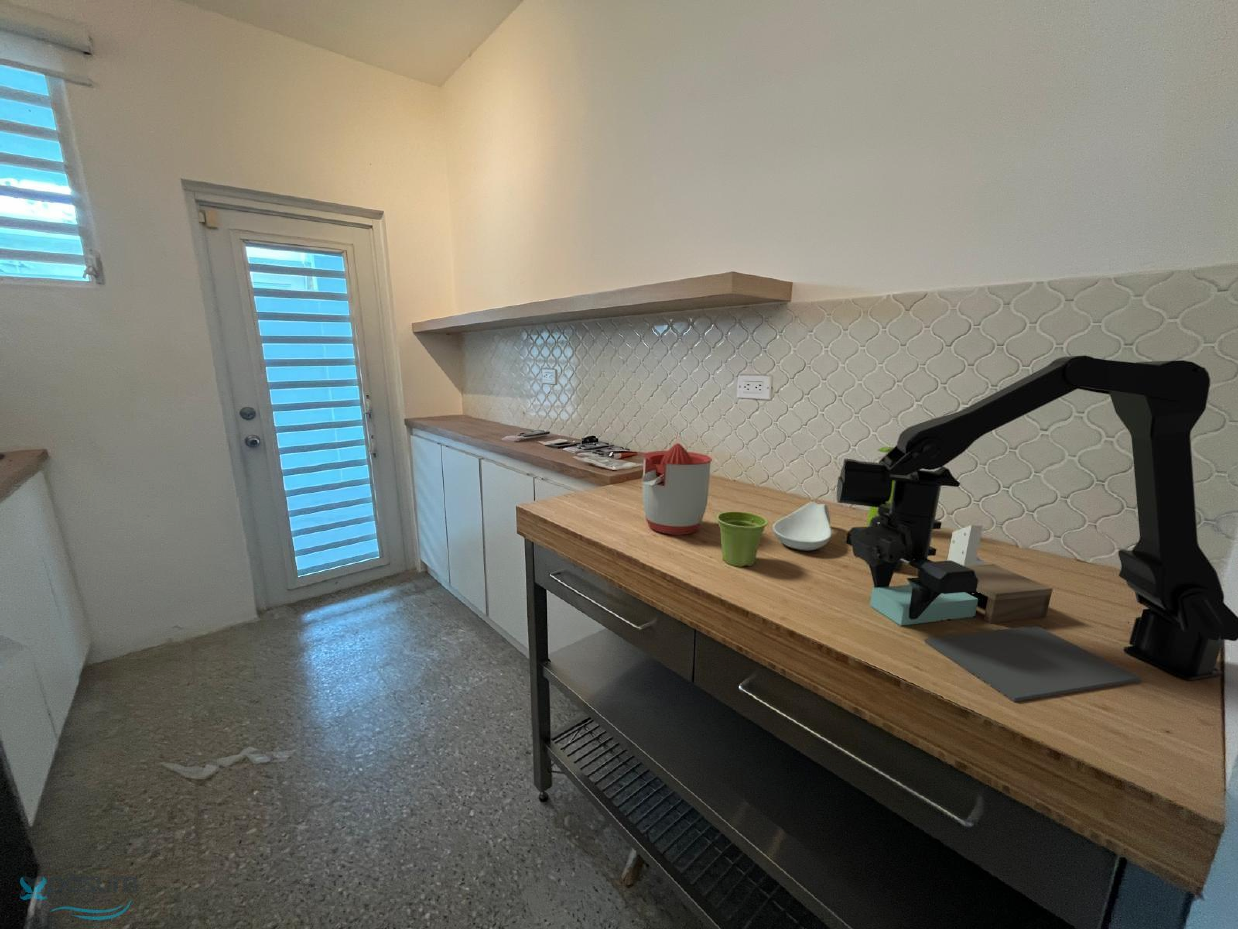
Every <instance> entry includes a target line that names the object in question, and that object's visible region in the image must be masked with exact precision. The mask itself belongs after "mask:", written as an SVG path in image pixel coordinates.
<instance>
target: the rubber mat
mask: <svg viewBox="0 0 1238 929" xmlns="http://www.w3.org/2000/svg"><path fill="white" fill-rule="evenodd" d="M923 641H924V643H925V644H926V645H928V646H930V647H931V648H933V649H935V651H937V650H938V651H937V652H939V653H941V654H942V655H943V656H944V657H946V656H947V657H946V658H948V657H949V658H950V659H949V658H948V659H949V660H950V661H952V662H954V661H955V662H954V663H955V664H956V665H958V664H959V665H958V666H959V667H961V668H963V667H964V668H965V669H964V668H963V669H964V670H965V671H967V672H969V671H970V672H971V674H972V673H973V674H975V675H976V676H977V677H976V676H975V675H974V676H975V677H976V678H978V677H979V678H980V679H982V680H981V681H982V682H983V681H985V682H986V683H987V685H988V684H990V685H991V686H992V687H991V686H990V687H991V688H992V689H994V688H995V689H996V690H995V689H994V690H995V691H997V692H998V691H1000V692H1001V693H1003V694H1004V695H1006V696H1005V697H1006V698H1007V697H1008V699H1009V698H1010V699H1009V700H1010V701H1011V702H1013V703H1017V702H1022V701H1027V699H1029V700H1033V699H1032V698H1035V699H1040V698H1045V697H1044V696H1047V697H1052V696H1051V695H1053V696H1057V695H1058V696H1059V695H1065V694H1069V693H1070V692H1071V693H1077V692H1082V691H1088V690H1096V689H1099V688H1100V689H1101V688H1106V687H1113V686H1118V685H1125V684H1131V683H1137V682H1138V683H1139V682H1141V680H1142V677H1141V676H1139V675H1137V674H1135V673H1133V672H1131V671H1129V670H1127V669H1125V668H1123V667H1121V666H1118V665H1117V664H1115V663H1113V662H1112V661H1109V660H1106V659H1105V658H1102V657H1100V656H1099V655H1096V654H1094V653H1093V652H1091V651H1088V650H1086V649H1084V648H1083V647H1080V646H1078V645H1076V644H1075V643H1072V642H1071V641H1068V640H1066V639H1064V638H1062V637H1061V636H1058V635H1056V634H1054V633H1053V632H1050V631H1048V630H1046V629H1044V628H1042V627H1040V626H1038V625H1029V626H1020V627H1013V628H1005V629H1004V628H1003V629H996V630H995V629H994V630H987V631H979V632H972V633H971V632H970V633H962V634H955V635H953V634H952V635H945V636H937V637H936V636H935V637H928V638H925V639H924V640H923ZM970 672H969V673H970ZM973 674H972V675H973ZM979 678H978V679H979ZM980 679H979V680H980ZM985 682H984V683H985ZM986 683H985V684H986ZM1000 692H999V693H1000ZM1001 693H1000V694H1001ZM1003 694H1002V695H1003ZM1004 695H1003V696H1004ZM1038 697H1040V698H1038ZM1021 700H1022V701H1021Z"/></svg>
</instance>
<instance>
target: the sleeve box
mask: <svg viewBox="0 0 1238 929" xmlns="http://www.w3.org/2000/svg"><path fill="white" fill-rule="evenodd" d="M965 567H967V568H969V569H972V570H974V571H975V573H976V574H977V576H978V585H977V589H976V591H974V592H965V593H967V594H971V595H973V594H972V593H978V592H979V593H981V594H982V595H983V596H985V597H987V602H986V607H985V612H984V616H983V620H984V619H985V620H987V621H988V622H987V621H986V622H987V623H989V622H990V623H989V624H996V623H995V622H997V623H1003V622H1004V623H1006V622H1011V621H1022V619H1023V620H1031V619H1040V618H1046V617H1047V614H1048V609H1049V605H1050V601H1051V597H1052V595H1053V594H1052V593H1053V587H1050V586H1047V585H1045V584H1043V583H1041V582H1037V581H1035V580H1033V579H1031V578H1028V577H1025V576H1024V575H1021V574H1018V573H1017V572H1013V571H1011V570H1008V569H1007V568H1004V567H1001V566H1000V565H996V564H994V563H992V564H991V563H990V564H987V565H976V566H965ZM981 594H980V595H981ZM985 620H984V621H985ZM1005 621H1006V622H1005Z"/></svg>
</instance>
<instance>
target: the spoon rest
mask: <svg viewBox="0 0 1238 929" xmlns="http://www.w3.org/2000/svg"><path fill="white" fill-rule="evenodd" d="M830 517H831V516H830V510H829V508H828V505H827V504H825V503H822V504H819V503H816V502H814V501H809V502H808V503H806V504H804V505H803V506H801V507H800V508H798V509H797V510H795V511H793V512H792V513H789V514H788V515H786V516H784V517H782V518H781V519H778V520H777V521H776V522H775V523H773V525H772V531H773V534H774V536H775V537H776V538H777V540H778V541H779V542H781V543H782V544H783V545H785V546H786V547H789V548H791V549H795V550H799V551H805V552H806V551H807V552H808V551H814V550H818V549H820V548H822V547H824V546H825V545H826V544H827V543H828V542H829V541H830V540H831V538H832V536H833V535H832V534H833V531H832V527H831V518H830Z"/></svg>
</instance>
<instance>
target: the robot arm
mask: <svg viewBox="0 0 1238 929" xmlns="http://www.w3.org/2000/svg"><path fill="white" fill-rule="evenodd" d="M1210 388H1211V377H1210V373H1209V372H1208V370H1207V369H1206V367H1204V366H1201V365H1199V364H1198V363H1195V362H1193V361H1189V360H1183V359H1182V360H1160V361H1159V360H1157V361H1156V360H1155V361H1153V360H1152V361H1137V362H1134V361H1133V362H1131V361H1121V360H1111V359H1105V358H1104V359H1102V358H1097V357H1093V356H1089V355H1072V356H1071V355H1070V356H1069V355H1068V356H1062V357H1058V358H1056V359H1055V360H1053V361H1051V363H1049V364H1048V365H1046V366H1044V367H1043V368H1041V369H1039V370H1037V371H1035V372H1033V373H1031V374H1029V375H1027V376H1025V377H1023V378H1021V379H1019V380H1018V381H1015V382H1014V383H1011V384H1009V385H1008V386H1006V387H1003V388H1002V389H1000V390H998V391H997V392H994V393H992V394H990V395H989V396H986V397H985V398H983V399H981V400H979V401H977V402H975V403H973V404H971V405H968V406H967V407H965V408H963V409H962V410H959V411H956V412H952V413H950V414H946V415H942V416H938V417H935V418H932V419H928V420H926V421H923V422H922V421H921V422H920V423H918V424H917V423H916V424H914V425H911V426H909V427H907V428H905V429H904V430H902V431H901V433H900V434H899V435H898V440H897V442H896V445H895V446H894V448H893V449H892V450H891V451H890V452H889V453H888V452H886V453H887V454H885V455H884V456H883V457H882V458H881V459H879V461H878V462H872V461H871V462H870V461H860V460H856V459H852V458H851V459H850V458H844V460H843V465H842V467H841V470H840V474H839V476H838V477H837V485H836V486H837V487H836V501H837V503H839V504H846V505H853V506H854V505H855V506H862V507H880V505H881V504H885V503H886V502H888V501H889V499H890V496H891V490H892V481H895V483H894V489H893V495H892V501H891V507H890V513H883V515H882V516H881V518H880V522H879V524H878V525H877V526H871V527H867V526H856V527H855V526H854V527H852V528H850V530H849V531H847V533H846V538H845V539H846V540H845V543H846V544H847V545H849V546H851V547H852V553H853V554H852V555H853V556H854V557H855V558H859V559H861V560H863V561H864V562H865V561H866V562H867V563H868V564H867V563H866V562H865V563H866V564H867V565H868V567H869V569H870V574H871V577H872V578H871V579H872V581H873V582H872V583H873V586H874V587H873V588H879V587H889V586H890V584H891V582H892V579H893V576H894V573H895V571H894V570H895V568H896V565H897V562H898V560H901V561H903V562H904V564H906V565H909V566H911V567H912V568H915V569H917V570H918V571H917V577H907V578H906V580H907V582H908V584H909V585H911V586H912V594H911V601H910V607H909V618H910V619H912V620H913V619H917V618H918V617H919V616H920V615H921V614H922V613H923V612H924V611H925V609H926V608H927V607H928V606H929V605H930V604H931V603H932V602H933V601H934V600H935V599H936V598H937V597H938V596H939V595H940V594H941V593H943V594H951V593H962V592H974V591H976V589H977V585H978V576H977V574H976V573H975V571H974V570H972V569H969V568H967V567H965V566H963V565H960V564H958V563H956V562H954V561H951V560H950V561H947V560H940V561H933V560H931V559H929V557H930V556H931V557H932V556H936V554H937V550H938V549H937V548H936V547H933V546H931V543H932V538H933V532H934V530H941V527H942V521H939V520H937V519H936V516H937V510H938V505H939V498H940V495H941V488H942V486H944V487H953V488H956V487H957V488H958V487H960V486H961V482H960V481H959V480H957V479H956V478H955V477H954V475H953V474H952V473H951V471H950V469H949V468H947V467H945V465H948V463H951V461H953V460H954V459H956V458H957V457H959V456H961V455H962V454H963V453H964V452H966V451H967V450H968V449H969V448H970V447H971V446H972V445H973V444H974V443H975V442H976V441H977V440H979V439H980V438H982V437H983V436H984V435H986V434H988V433H990V432H992V431H994V430H996V429H999V428H1000V427H1003V426H1004V425H1006V424H1009V423H1011V422H1013V421H1014V420H1017V419H1019V418H1021V417H1023V416H1025V415H1027V414H1029V413H1031V412H1033V411H1036V410H1038V409H1040V408H1041V407H1044V406H1045V405H1047V404H1050V403H1052V402H1053V401H1055V400H1058V399H1059V398H1062V397H1064V396H1066V395H1068V394H1070V393H1072V392H1074V391H1077V390H1082V391H1086V392H1091V393H1097V394H1104V395H1109V396H1110V399H1111V403H1112V405H1113V408H1114V411H1115V414H1116V415H1117V416H1118V418H1119V420H1120V421H1121V422H1122V424H1123V425H1124V426H1125V428H1126V429H1127V431H1128V432H1129V435H1130V437H1131V445H1132V446H1131V447H1132V449H1131V450H1132V459H1133V460H1132V461H1133V470H1134V482H1135V492H1136V494H1135V495H1136V507H1137V517H1138V518H1137V519H1138V530H1139V537H1138V538H1139V540H1138V542H1136V544H1135V545H1134V547H1133V548H1132V550H1129V549H1128V550H1127V549H1126V550H1125V549H1120V550H1118V553H1117V554H1118V558H1119V561H1120V565H1121V566H1120V572H1119V573H1118V577H1119V578H1121V579H1122V580H1124V581H1125V582H1126V584H1127V586H1128V588H1129V589H1131V590H1132V591H1134V593H1135V598H1136V602H1137V603H1138V604H1140V605H1143V606H1144V607H1146V608H1144V609H1142V612H1141V616H1137V617H1135V620H1134V623H1133V627H1132V630H1131V634H1130V637H1129V640H1128V644H1129V645H1130V646H1129V645H1128V646H1124V647H1123V649H1122V650H1123V651H1124V652H1125V653H1126V654H1129V655H1131V656H1132V657H1135V658H1138V659H1140V660H1142V661H1144V662H1146V663H1149V664H1151V665H1153V666H1155V667H1156V668H1159V669H1161V670H1164V671H1165V672H1168V673H1169V674H1172V675H1174V676H1176V677H1178V678H1181V679H1182V680H1186V681H1194V680H1199V679H1206V678H1211V677H1212V678H1213V677H1218V676H1221V675H1222V673H1223V672H1222V670H1220V669H1218V668H1217V667H1216V664H1217V661H1218V657H1219V656H1220V651H1221V649H1222V646H1223V643H1224V641H1232V642H1236V641H1237V640H1238V616H1237V615H1236V613H1234V612H1233V611H1232V609H1231V608H1230V607H1228V605H1227V604H1225V603H1224V602H1225V594H1224V590H1223V587H1222V584H1221V581H1220V578H1219V575H1218V572H1217V570H1216V568H1214V565H1213V564H1212V562H1210V560H1209V558H1208V557H1207V556H1206V554H1205V552H1204V551H1203V550H1202V549H1201V547H1200V545H1199V542H1198V541H1199V538H1198V526H1197V512H1196V510H1197V508H1196V497H1195V496H1196V495H1195V484H1194V483H1195V482H1194V481H1195V480H1194V468H1193V456H1192V455H1193V454H1192V441H1191V438H1192V437H1191V434H1192V430H1193V428H1194V427H1195V426H1196V424H1197V422H1198V421H1199V420H1200V419H1201V417H1202V415H1203V414H1204V412H1205V411H1206V409H1207V404H1208V399H1209V398H1208V397H1209V393H1210ZM1215 667H1216V668H1215Z"/></svg>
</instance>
